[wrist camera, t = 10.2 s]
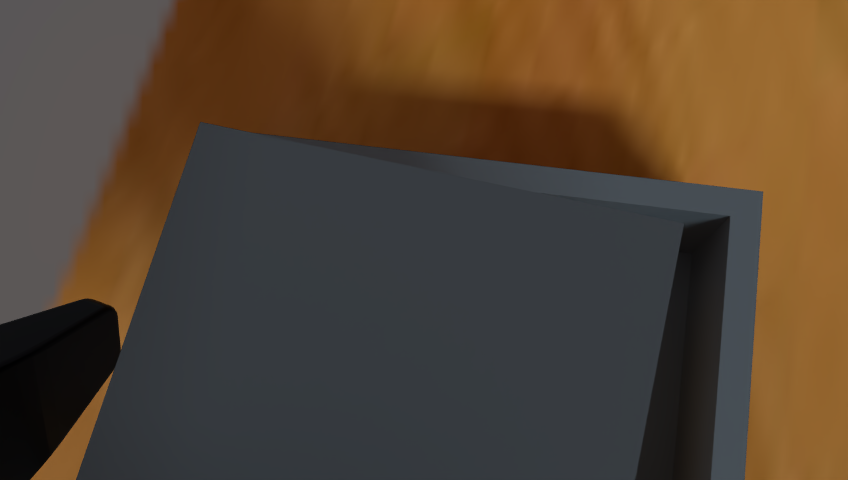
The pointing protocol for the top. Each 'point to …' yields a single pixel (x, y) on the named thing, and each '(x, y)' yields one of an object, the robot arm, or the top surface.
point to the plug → (383, 327)
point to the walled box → (688, 306)
